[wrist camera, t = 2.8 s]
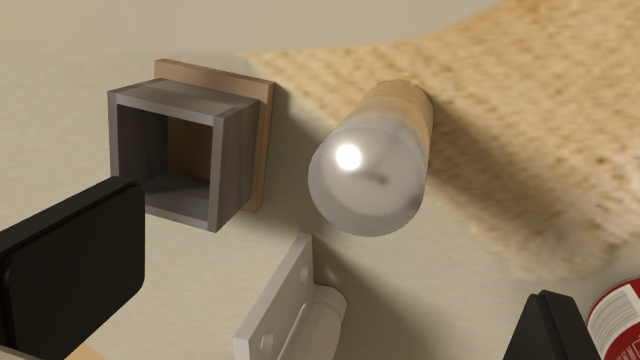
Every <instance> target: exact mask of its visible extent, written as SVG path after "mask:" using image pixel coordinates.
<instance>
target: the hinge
mask: <svg viewBox="0 0 640 360" xmlns="http://www.w3.org/2000/svg"><path fill="white" fill-rule="evenodd" d="M346 310H347V304H346V300H345V297H344V296H343V295H342V294H341V293H340V292H339V291H337V290H336V289H335V288H334V287H328V286H320V285H316V284H314V281H313V252H312V234H309V233H300V234H299V235H298V237H297V238H296V240H295V241H294V243H293V244H292V246H291V248H290V249H289V251H288V252H287V254H286V255H285V257H284V258H283V260H282V261H281V263H280V265H279V266H278V268H277V269H276V271H275V272H274V274H273V275H272V277H271V278H270V280H269V282H268V283H267V285H266V286H265V288H264V289H263V291H262V292H261V294H260V295H259V297H258V298H257V300H256V302H255V303H254V305H253V306H252V308H251V309H250V311H249V312H248V314H247V315H246V317H245V319H244V320H243V322H242V323H241V325H240V326H239V328H238V329H237V331H236V332H235V334H234V336H233V337H232V343H233V352H234V360H333V357H334V354H335V351H336V348H337V345H338V342H339V338H340V330H341V326H342V320H343V317H344V314H345V312H346Z"/></svg>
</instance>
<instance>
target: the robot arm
mask: <svg viewBox="0 0 640 360" xmlns="http://www.w3.org/2000/svg"><path fill="white" fill-rule="evenodd" d="M144 278H145V192H144V190H143V189H142V188H141V186H140V184H139V183H138V182H137V181H134V180H131V179H127V178H123V177H119V176H112V177H110V178H108V179H106V180H104V181H102V182H100V183H98V184H96V185H94V186H92V187H90V188H88V189H86V190H84V191H82V192H80V193H78V194H76V195H73V196H71V197H69V198H67V199H65V200H63V201H61V202H59V203H57V204H55V205H53V206H51V207H49V208H47V209H45V210H43V211H41V212H39V213H37V214H35V215H33V216H31V217H29V218H27V219H25V220H23V221H21V222H19V223H17V224H15V225H13V226H11V227H9V228H7V229H5V230H3V231H1V232H0V360H64V359H65V358H66V357H67V356H69V355H70V354H71V352H73V351H74V350H75V349H76V348H77V347H78V346H79V345H81V344H82V343H83V342H84V341H85V340H86V339H87V338H88V337H89V336H90V335H92V334H93V333H94V332H95V331H96V330H97V329H98V328H99V327H100V326H101V325H102V324H104V323H105V322H106V321H107V320H108V319H109V318H110V317H111V316H112V315H113V314H114V313H116V312H117V311H118V310H119V309H120V308H121V307H122V306H123V305H124V304H125V303H126V302H128V301H129V300H130V299H131V298H132V297H133V296H134V295H135V294H136V293H137V292H138V291H139V290H140V289H141V287H142V285H143V282H144ZM503 360H602V359H601V357H600V355H599V353H598V351H597V348H596V346H595V344H594V342H593V340H592V338H591V335H590V333H589V331H588V329H587V327H586V325H585V322H584V320H583V318H582V316H581V314H580V312H579V310H578V307H577V305H576V303H575V301H574V299H573V298H572V297H569V296H566V295H562V294H558V293H554V292H551V291H547V290H542V291H541V292H540V293H539V294H538V295H536V294H531V295H530V296H529V297H528V299H527V302H526V304H525V307H524V309H523V311H522V314H521V316H520V319H519V321H518V324H517V326H516V328H515V331H514V333H513V336H512V338H511V341H510V343H509V345H508V348H507V350H506V353H505V355H504V358H503Z"/></svg>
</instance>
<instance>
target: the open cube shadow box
mask: <svg viewBox="0 0 640 360" xmlns="http://www.w3.org/2000/svg"><path fill="white" fill-rule="evenodd" d="M274 88H275V82H272V81H268V80H263V79H258V78H253V77H249V76H244V75H239V74H235V73H230V72H225V71H220V70H216V69H211V68H206V67H202V66H197V65H192V64H187V63H183V62H178V61H173V60H169V59H160V60H155V73H154V79H153V80H149V81H146V82H142V83H138V84H134V85H130V86H126V87H122V88H118V89H115V90H111V91H107V95H108V120H109V144H110V169H111V177H112V176H119V177H123V178H127V179H131V180H134V181H137V182H138V183H139V184H140V186H141V188H142V189H143V190H144V192H145V213H147V214H151V215H154V216H158V217H161V218H165V219H168V220H172V221H175V222H179V223H182V224H186V225H189V226H193V227H196V228H200V229H203V230H207V231H210V232H214V233H217V232H218V231H219V230H220V229H221V228H222V227H223V226H224V225H225V224H226V223H227V222H228V221H229V220H230V219H231V218H232V217H233V216H234V215H235V214H236V213H237V212H238V211H239V210H244V211H248V212H251V213H256V212H257V211H258V210H259V209H260V208H261V205H262V196H263V187H264V178H265V169H266V160H267V151H268V142H269V133H270V124H271V115H272V106H273V97H274Z"/></svg>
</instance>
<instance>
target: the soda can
mask: <svg viewBox="0 0 640 360" xmlns="http://www.w3.org/2000/svg"><path fill="white" fill-rule="evenodd" d="M586 327H587V329H588V331H589V333H590V335H591V338H592V340H593V342H594V344H595V346H596V348H597V351H598V353H599V355H600V357H601V359H602V360H640V276H636V277H632V278H629V279H626V280H623V281H621V282H619V283H617V284H615V285H613V286H612V287H610V288H609V289H607V290H606V291H605V292H603V293H602V294H601V295H600V296H599V297H598V298H597V299H596V300H595V302H594V303H593V304H592V306H591V308H590V310H589V312H588V315H587V318H586Z"/></svg>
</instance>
